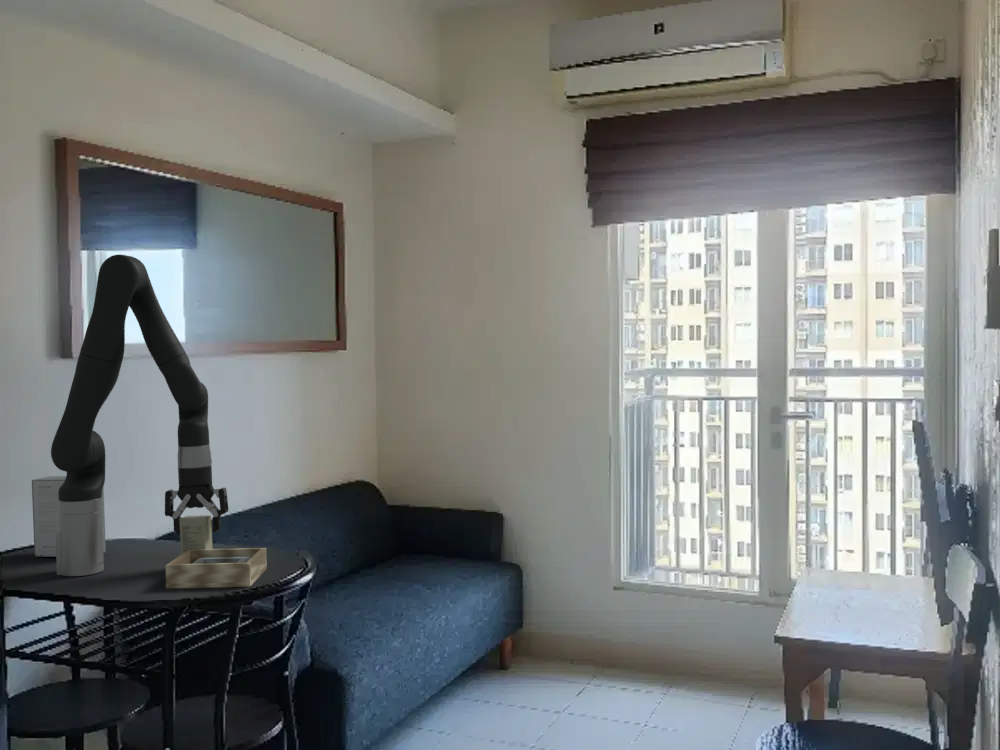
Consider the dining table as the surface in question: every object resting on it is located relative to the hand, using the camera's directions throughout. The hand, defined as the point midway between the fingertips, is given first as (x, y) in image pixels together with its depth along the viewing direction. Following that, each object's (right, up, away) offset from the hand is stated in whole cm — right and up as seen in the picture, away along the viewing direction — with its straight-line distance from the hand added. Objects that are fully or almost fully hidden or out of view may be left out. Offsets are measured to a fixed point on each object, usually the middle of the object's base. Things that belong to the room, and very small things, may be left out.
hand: (197, 533), depth 216 cm
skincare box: (0, -9, +1) cm, 9 cm away
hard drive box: (-38, -9, +16) cm, 42 cm away
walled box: (+8, -8, -10) cm, 16 cm away
